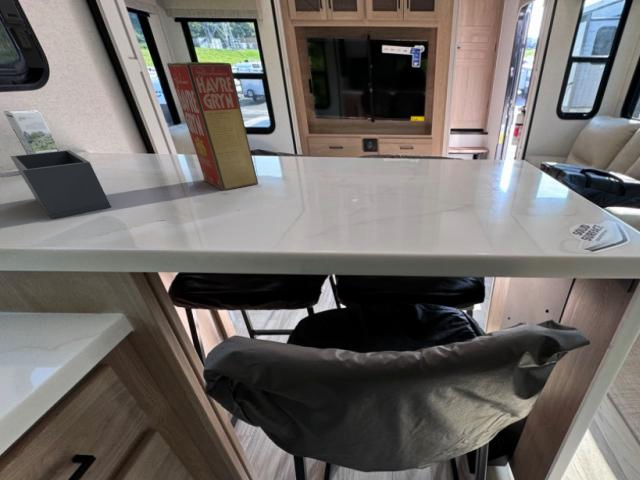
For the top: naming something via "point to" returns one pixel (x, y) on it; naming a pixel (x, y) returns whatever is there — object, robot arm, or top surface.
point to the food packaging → (215, 122)
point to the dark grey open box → (62, 182)
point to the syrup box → (32, 131)
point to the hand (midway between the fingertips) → (36, 67)
